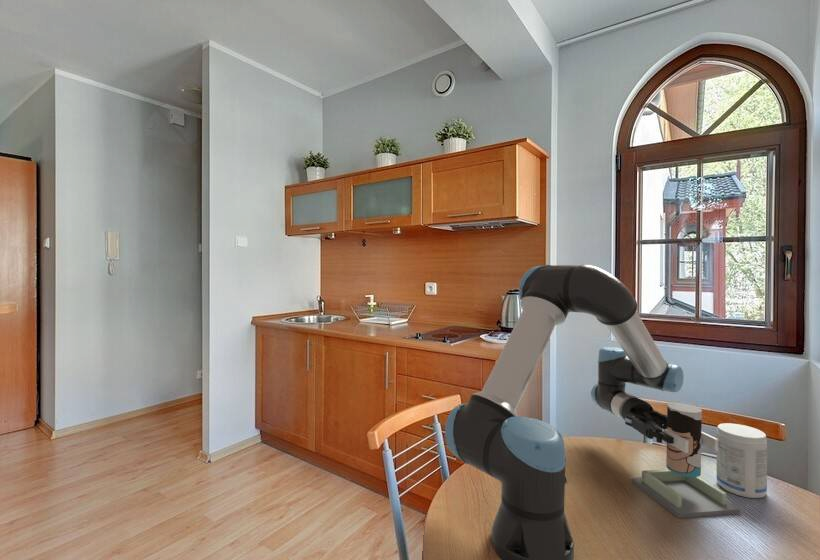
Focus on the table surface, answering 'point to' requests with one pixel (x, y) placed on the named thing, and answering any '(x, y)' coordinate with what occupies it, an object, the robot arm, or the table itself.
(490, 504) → the table surface
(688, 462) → the white printed cylinder
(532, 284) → the robot arm
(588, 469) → the table surface
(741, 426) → the supplement tub
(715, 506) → the holder
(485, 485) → the table surface
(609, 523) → the table surface
